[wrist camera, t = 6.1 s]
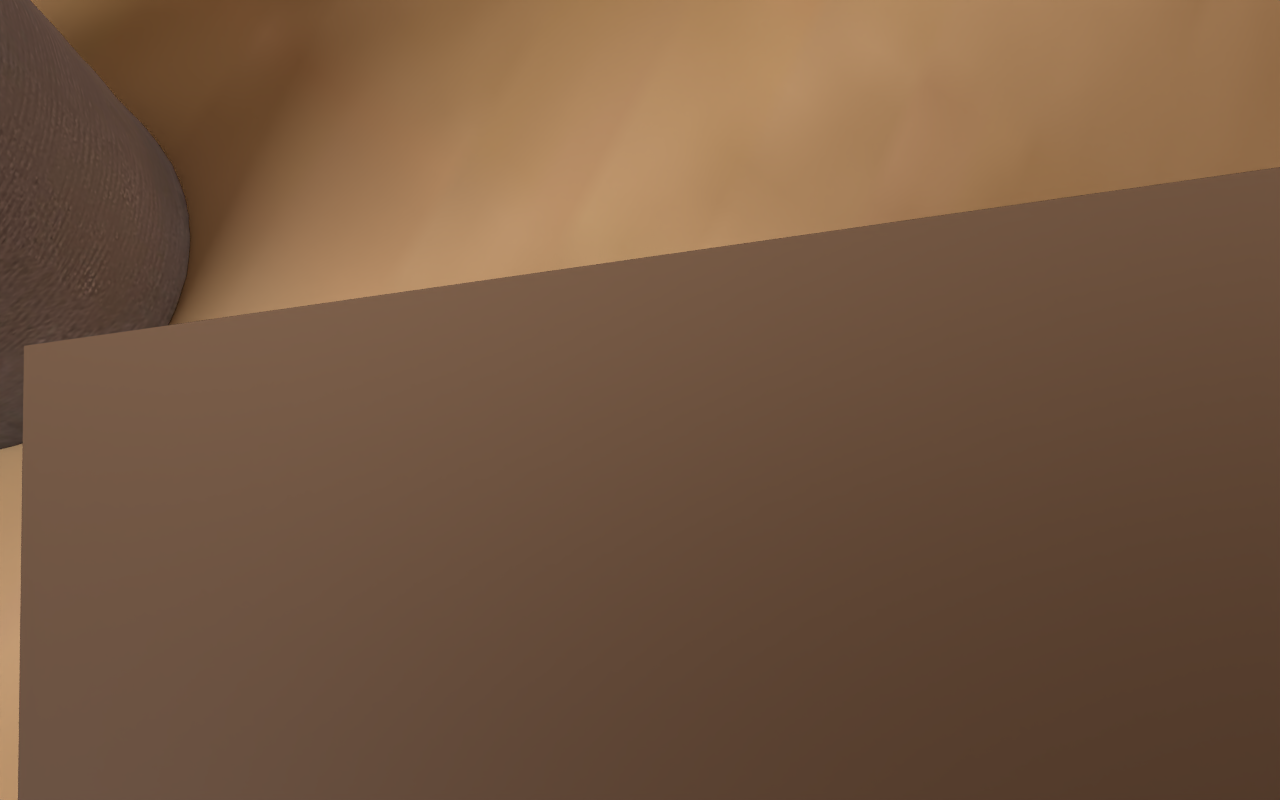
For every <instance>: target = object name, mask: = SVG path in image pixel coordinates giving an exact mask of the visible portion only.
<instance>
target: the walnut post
mask: <svg viewBox="0 0 1280 800" xmlns="http://www.w3.org/2000/svg"><path fill="white" fill-rule="evenodd" d="M18 800H1280V167H1278V168H1271V169H1264V170H1257V171H1250V172H1243V173H1236V174H1229V175H1222V176H1215V177H1208V178H1201V179H1194V180H1187V181H1180V182H1173V183H1166V184H1159V185H1151V186H1144V187H1137V188H1130V189H1123V190H1116V191H1109V192H1102V193H1095V194H1088V195H1081V196H1074V197H1067V198H1060V199H1053V200H1046V201H1039V202H1032V203H1025V204H1018V205H1011V206H1004V207H997V208H990V209H983V210H976V211H969V212H962V213H955V214H948V215H941V216H934V217H926V218H919V219H912V220H905V221H898V222H891V223H884V224H877V225H870V226H863V227H856V228H849V229H842V230H835V231H828V232H821V233H814V234H807V235H800V236H793V237H786V238H779V239H772V240H765V241H758V242H751V243H744V244H737V245H730V246H723V247H716V248H709V249H701V250H694V251H687V252H680V253H673V254H666V255H659V256H652V257H645V258H638V259H631V260H624V261H617V262H610V263H603V264H596V265H589V266H582V267H575V268H568V269H561V270H554V271H547V272H540V273H533V274H526V275H519V276H512V277H505V278H498V279H491V280H484V281H476V282H469V283H462V284H455V285H448V286H441V287H434V288H427V289H420V290H413V291H406V292H399V293H392V294H385V295H378V296H371V297H364V298H357V299H350V300H343V301H336V302H329V303H322V304H315V305H308V306H301V307H294V308H287V309H280V310H273V311H266V312H259V313H252V314H244V315H237V316H230V317H223V318H216V319H209V320H202V321H195V322H188V323H181V324H174V325H167V326H160V327H153V328H146V329H139V330H132V331H125V332H118V333H111V334H104V335H97V336H90V337H83V338H76V339H69V340H62V341H55V342H48V343H41V344H34V345H27V346H24V384H23V460H22V537H21V613H20V690H19V766H18Z"/></svg>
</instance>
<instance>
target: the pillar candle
mask: <svg viewBox="0 0 1280 800" xmlns="http://www.w3.org/2000/svg"><path fill="white" fill-rule="evenodd" d="M189 248H190V231H189V214H188V211H187V204H186V200H185V196H184V193H183V191H182V188H181V185H180V182H179V180H178V178H177V175H176V173H175V170H174V168H173V166H172V164H171V162H170V161H169V160H168V158H167V156H166V155H165V153H164V152H163V150H162V149H161V147H160V146H159V144H158V143H157V142H156V140H155V139H154V138H153V137H152V135H151V134H150V133H149V132H148V130H147V129H146V128H145V127H144V126H143V124H142V123H141V122H140V121H139V120H138V119H137V118H136V117H135V116H134V115H133V114H132V113H131V112H130V111H129V110H128V109H127V108H126V107H125V106H124V105H123V104H122V103H121V102H120V101H119V100H118V99H117V98H116V97H115V96H114V94H113V93H112V92H111V91H110V89H109V88H108V87H107V85H106V84H105V83H104V82H103V81H102V80H101V78H100V77H99V76H98V75H97V74H96V72H95V71H94V70H93V69H92V68H91V67H90V66H89V65H88V64H87V63H86V62H85V61H84V60H83V59H82V58H81V57H80V55H79V54H78V53H77V52H76V51H75V50H74V48H73V47H72V46H71V45H70V44H69V43H68V42H67V40H66V39H65V38H64V37H63V35H62V34H61V33H60V32H59V31H58V30H57V29H56V28H55V27H54V25H53V24H52V23H51V22H50V21H49V20H48V19H47V18H46V17H45V16H44V15H43V14H42V12H41V11H40V10H39V9H38V8H37V7H36V6H35V5H34V4H33V3H32V2H31V1H30V0H0V449H3V448H7V447H11V446H15V445H19V444H22V443H23V384H24V346H27V345H34V344H41V343H48V342H55V341H62V340H69V339H76V338H83V337H90V336H97V335H104V334H111V333H118V332H125V331H132V330H139V329H146V328H153V327H160V326H167V325H168V324H169V322H170V320H171V318H172V316H173V313H174V311H175V309H176V306H177V303H178V300H179V298H180V295H181V290H182V287H183V284H184V281H185V279H186V275H187V267H188V260H189Z"/></svg>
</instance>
